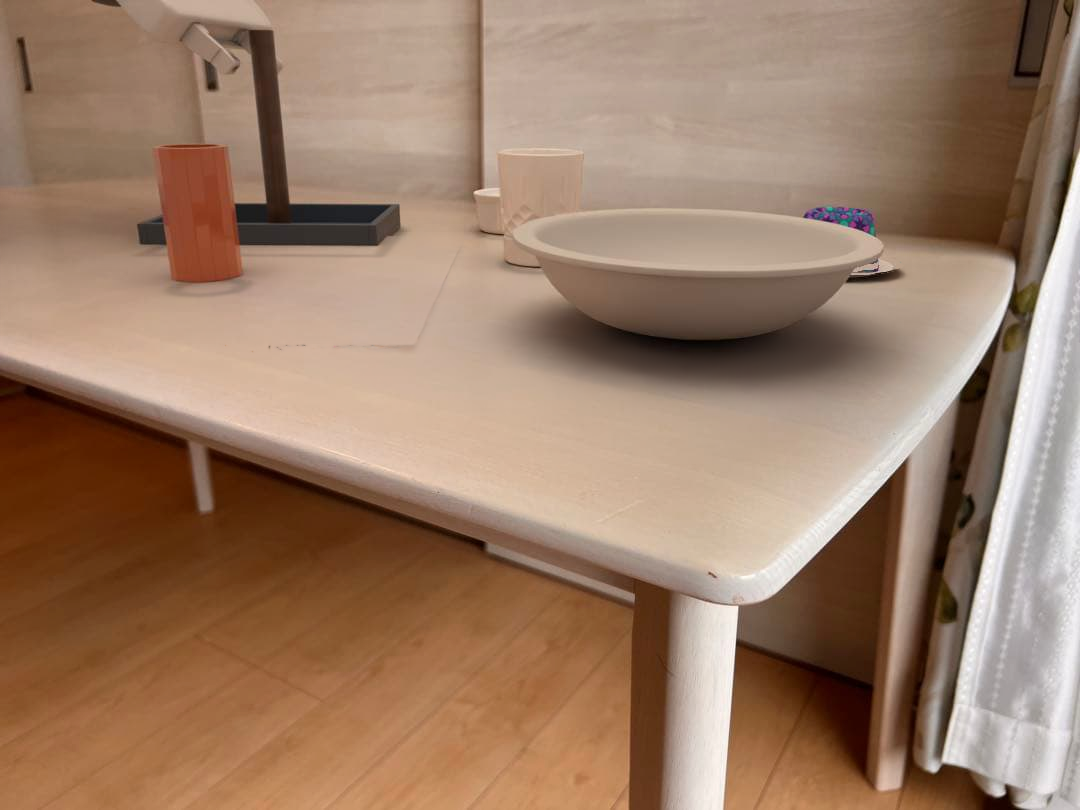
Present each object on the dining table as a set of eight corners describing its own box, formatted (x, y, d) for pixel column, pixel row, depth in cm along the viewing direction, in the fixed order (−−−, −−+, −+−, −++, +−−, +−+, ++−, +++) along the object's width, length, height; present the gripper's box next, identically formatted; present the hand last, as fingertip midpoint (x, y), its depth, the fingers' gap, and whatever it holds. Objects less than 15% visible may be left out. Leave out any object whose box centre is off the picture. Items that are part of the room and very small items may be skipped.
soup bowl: (663, 415, 44) (670, 288, 42) (452, 313, 63) (449, 222, 61) (948, 345, 56) (967, 244, 53) (699, 277, 75) (704, 200, 72)
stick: (266, 233, 92) (245, 29, 85) (273, 229, 94) (252, 30, 87) (289, 233, 92) (269, 29, 85) (294, 229, 94) (276, 30, 87)
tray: (140, 250, 85) (136, 223, 84) (198, 225, 100) (195, 202, 99) (377, 251, 86) (376, 225, 85) (400, 226, 100) (399, 204, 99)
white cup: (484, 264, 80) (483, 152, 76) (518, 250, 87) (517, 147, 83) (564, 271, 77) (566, 156, 73) (592, 256, 84) (595, 150, 80)
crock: (161, 289, 70) (140, 148, 66) (187, 274, 75) (169, 143, 71) (230, 289, 70) (213, 148, 66) (251, 274, 75) (237, 143, 71)
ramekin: (458, 229, 99) (457, 190, 97) (516, 221, 104) (516, 185, 103) (509, 239, 93) (509, 198, 91) (567, 230, 98) (568, 191, 97)
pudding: (741, 259, 83) (746, 204, 81) (846, 253, 86) (853, 200, 84) (815, 286, 72) (823, 223, 70) (932, 277, 76) (942, 217, 74)
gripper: (102, -82, 74) (222, 41, 76) (222, -47, 93) (315, 50, 95) (65, -24, 76) (182, 94, 78) (190, -1, 95) (281, 93, 97)
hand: (256, 70), depth 86 cm, fingers open, 8 cm apart
